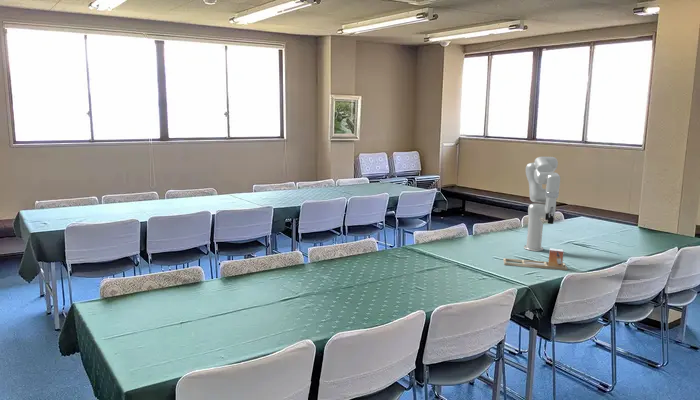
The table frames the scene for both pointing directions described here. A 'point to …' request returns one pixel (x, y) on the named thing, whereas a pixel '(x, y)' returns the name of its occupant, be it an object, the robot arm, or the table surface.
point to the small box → (555, 257)
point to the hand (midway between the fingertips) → (549, 221)
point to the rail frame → (533, 264)
